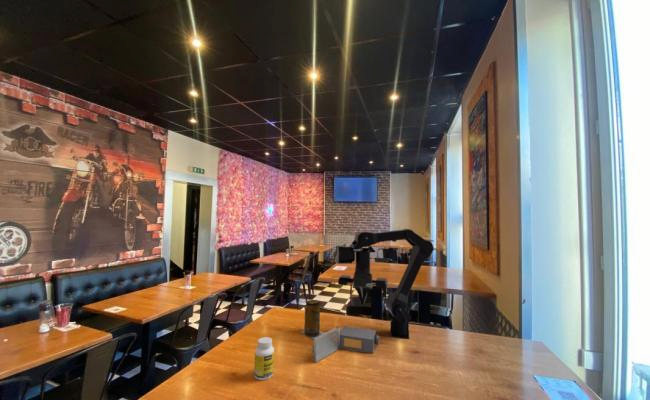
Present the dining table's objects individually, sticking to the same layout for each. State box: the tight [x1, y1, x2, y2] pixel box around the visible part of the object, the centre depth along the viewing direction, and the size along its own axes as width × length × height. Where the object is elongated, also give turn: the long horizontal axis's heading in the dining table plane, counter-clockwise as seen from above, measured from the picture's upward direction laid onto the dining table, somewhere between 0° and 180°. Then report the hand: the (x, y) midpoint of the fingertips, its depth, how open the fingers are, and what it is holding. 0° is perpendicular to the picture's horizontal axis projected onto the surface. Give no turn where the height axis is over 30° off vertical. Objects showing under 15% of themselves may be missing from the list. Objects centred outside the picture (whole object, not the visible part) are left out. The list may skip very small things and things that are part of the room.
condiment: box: [299, 299, 325, 340], centre depth 105 cm, size 7×8×12 cm
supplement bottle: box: [253, 336, 275, 381], centre depth 77 cm, size 5×5×10 cm
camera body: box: [336, 325, 380, 354], centre depth 95 cm, size 14×9×7 cm
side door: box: [311, 327, 339, 363], centre depth 88 cm, size 11×2×7 cm, turn 139°
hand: (362, 304), depth 104 cm, fingers closed
